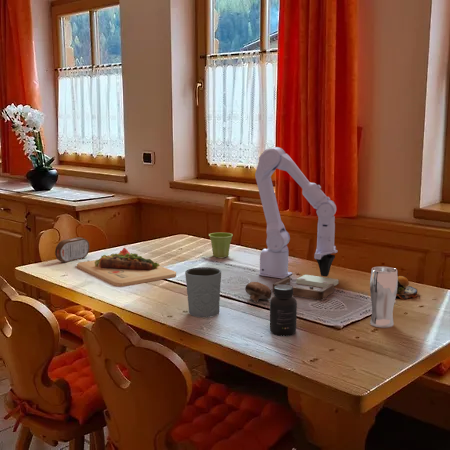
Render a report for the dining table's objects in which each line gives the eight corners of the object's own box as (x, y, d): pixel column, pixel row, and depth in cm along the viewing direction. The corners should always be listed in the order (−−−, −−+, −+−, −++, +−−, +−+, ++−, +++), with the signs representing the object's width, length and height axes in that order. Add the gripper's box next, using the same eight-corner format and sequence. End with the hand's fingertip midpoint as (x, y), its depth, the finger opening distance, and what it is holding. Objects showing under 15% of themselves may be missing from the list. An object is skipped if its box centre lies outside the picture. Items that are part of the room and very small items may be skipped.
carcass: (272, 292, 191) (272, 282, 191) (286, 284, 200) (286, 275, 199) (321, 300, 183) (322, 290, 182) (333, 291, 192) (334, 282, 191)
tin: (85, 256, 240) (85, 235, 239) (91, 257, 238) (90, 236, 237) (55, 263, 228) (53, 241, 227) (60, 264, 226) (59, 242, 225)
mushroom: (249, 296, 176) (255, 276, 178) (237, 299, 183) (243, 280, 185) (272, 306, 178) (278, 287, 180) (259, 309, 185) (265, 290, 187)
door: (296, 284, 201) (296, 278, 201) (305, 280, 207) (305, 273, 207) (330, 290, 195) (330, 283, 195) (338, 285, 201) (338, 278, 201)
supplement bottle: (267, 327, 158) (268, 283, 156) (293, 327, 159) (294, 282, 157) (271, 337, 152) (272, 290, 150) (298, 336, 152) (299, 290, 150)
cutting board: (74, 267, 224) (74, 247, 223) (131, 259, 238) (131, 240, 236) (118, 288, 196) (117, 266, 195) (179, 277, 210) (179, 256, 209)
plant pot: (232, 259, 236) (232, 237, 234) (208, 258, 236) (208, 236, 234) (232, 253, 245) (232, 232, 243) (209, 253, 245) (209, 232, 244)
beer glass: (396, 329, 157) (399, 273, 155) (368, 327, 159) (371, 271, 156) (394, 320, 164) (397, 266, 162) (367, 319, 166) (370, 265, 163)
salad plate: (390, 287, 198) (391, 264, 197) (424, 294, 190) (425, 271, 189) (370, 294, 190) (371, 271, 189) (404, 302, 182) (406, 278, 180)
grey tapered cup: (208, 320, 164) (208, 277, 162) (178, 314, 169) (177, 272, 167) (228, 310, 173) (228, 269, 170) (198, 304, 178) (198, 265, 176)
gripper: (329, 241, 196) (328, 282, 198) (344, 234, 208) (343, 272, 211) (309, 239, 199) (307, 279, 202) (325, 232, 212) (323, 270, 214)
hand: (324, 276), depth 206 cm, fingers closed
